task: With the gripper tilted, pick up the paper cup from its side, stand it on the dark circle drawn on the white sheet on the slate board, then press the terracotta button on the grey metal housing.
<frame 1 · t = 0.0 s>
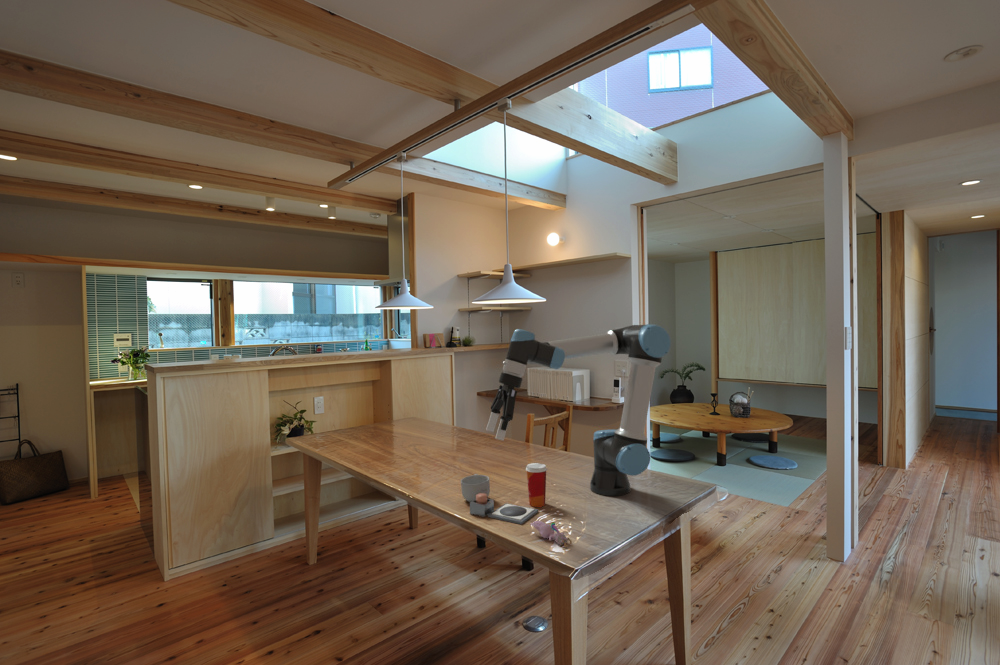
hand: (494, 435, 158), 28 cm above the table, tool tilted 20°, fingers open, 13 cm apart
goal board: (513, 514, 161), on the table
done button: (482, 512, 164), resting on button housing, slide at 0.0 cm
button housing: (482, 512, 164), on the table
teacup: (476, 499, 177), on the table
paper cup: (537, 505, 170), on the table
pink unicorn toy: (549, 539, 142), on the table
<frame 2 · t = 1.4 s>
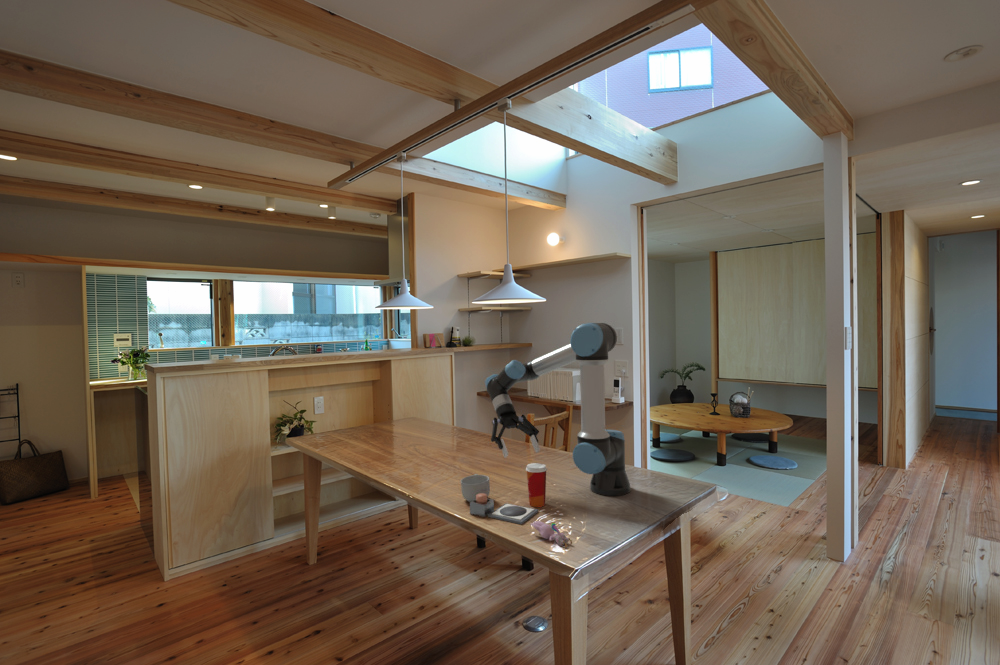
hand: (522, 453, 179), 16 cm above the table, tool tilted 45°, fingers open, 13 cm apart
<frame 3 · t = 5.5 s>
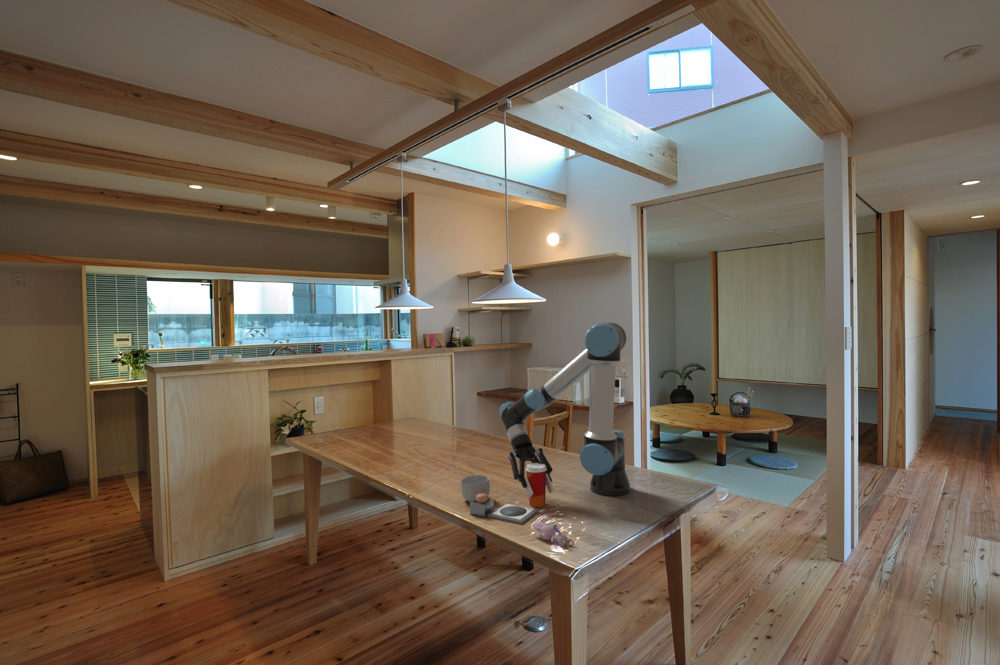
hand: (541, 493, 167), 5 cm above the table, tool tilted 45°, fingers closed on paper cup, 8 cm apart
paper cup: (537, 504, 170), on the table, touching gripper
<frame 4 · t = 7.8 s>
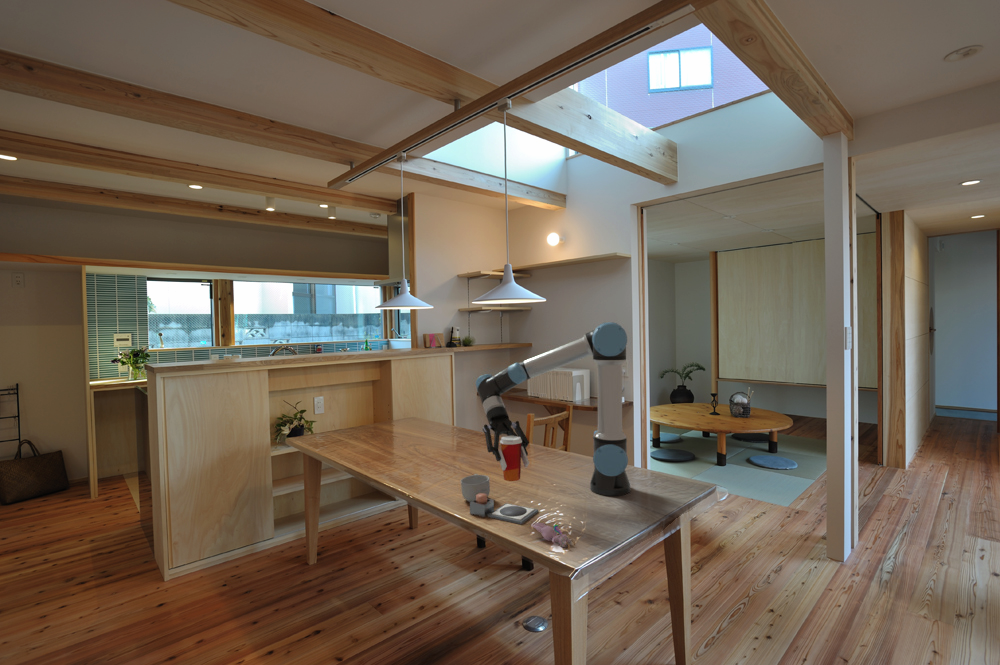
hand: (516, 466, 158), 17 cm above the table, tool tilted 45°, fingers closed on paper cup, 8 cm apart
paper cup: (511, 479, 161), point 12 cm above the table, touching gripper
when the fingers open (8 cm above the table, at t = 10.4 s): paper cup drops 1 cm, resting on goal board.
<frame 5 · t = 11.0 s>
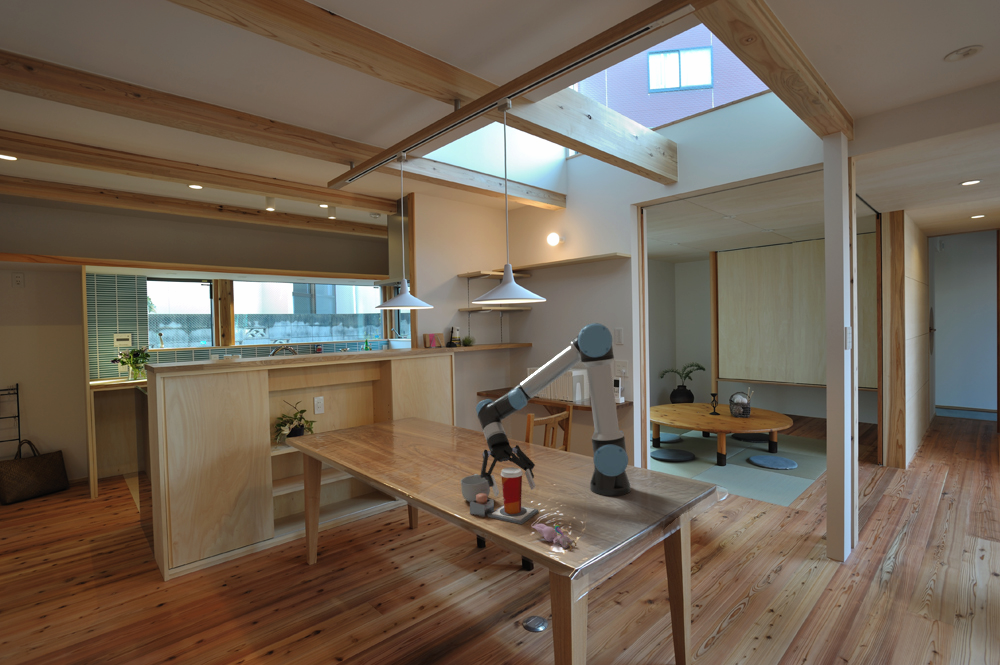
hand: (515, 491, 159), 9 cm above the table, tool tilted 45°, fingers open, 13 cm apart
paper cup: (512, 511, 161), point 1 cm above the table, touching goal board
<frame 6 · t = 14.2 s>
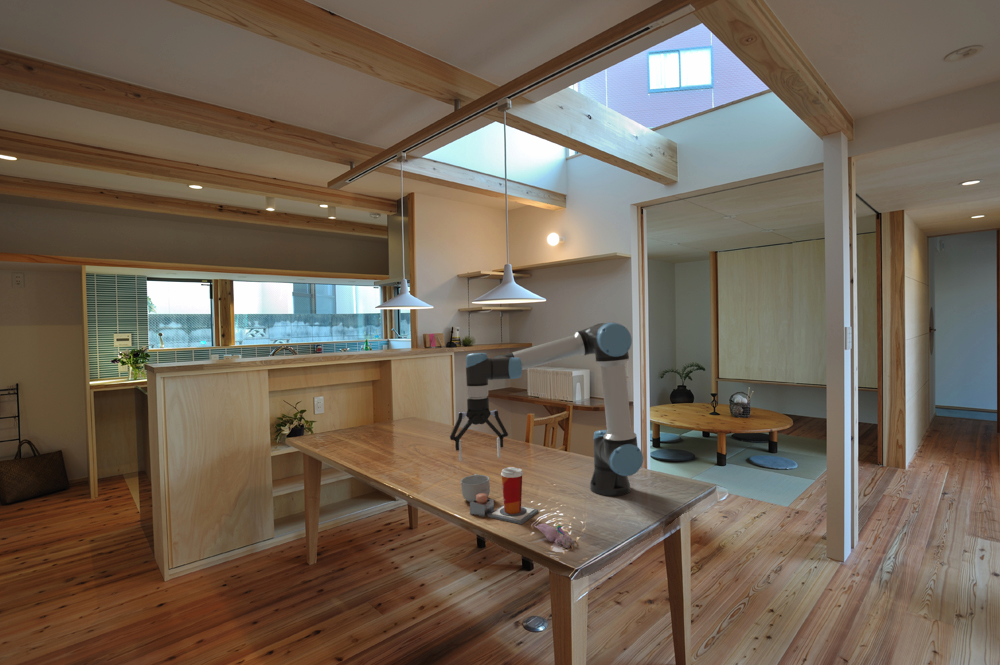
hand: (479, 458, 165), 19 cm above the table, tool pointing down, fingers open, 13 cm apart
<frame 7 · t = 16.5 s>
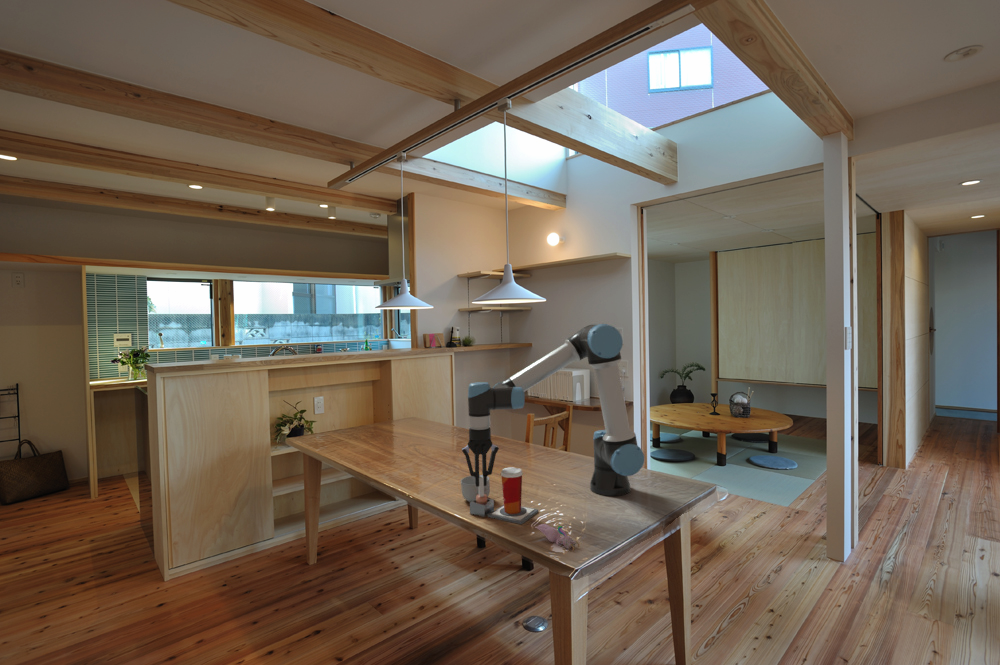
hand: (481, 495, 164), 6 cm above the table, tool pointing down, fingers closed
done button: (482, 513, 164), resting on button housing, slide at 0.3 cm, touching gripper
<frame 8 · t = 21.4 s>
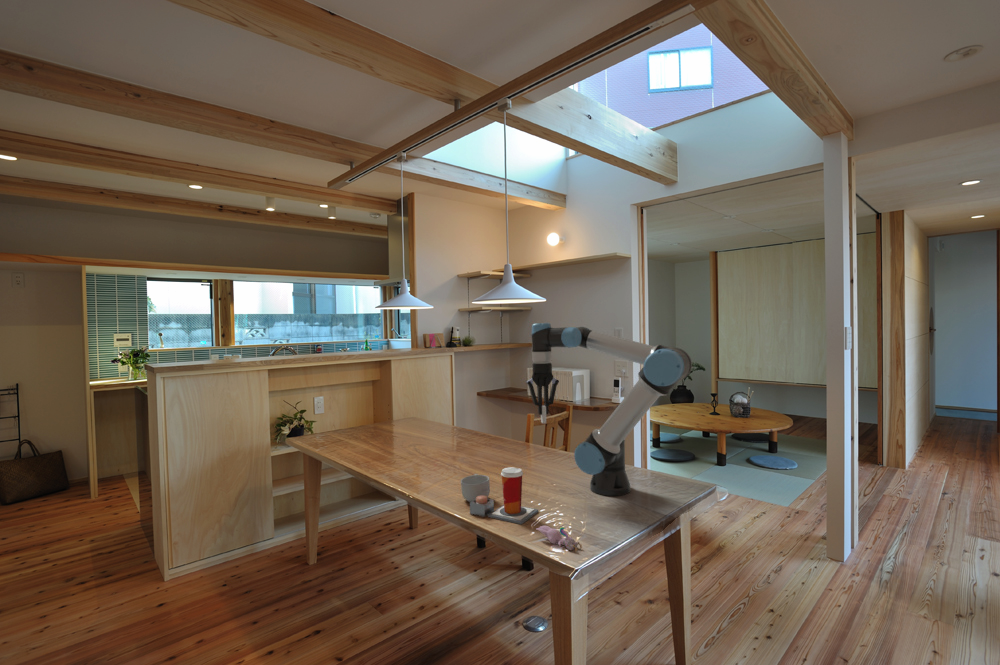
hand: (543, 422, 184), 26 cm above the table, tool pointing down, fingers closed
done button: (482, 514, 164), resting on button housing, slide at 0.8 cm
at the end: paper cup 0.2 cm off-centre on the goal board, point 1.0 cm above the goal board's base; paper cup tilted 0°; done button slide at 0.8 cm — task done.
